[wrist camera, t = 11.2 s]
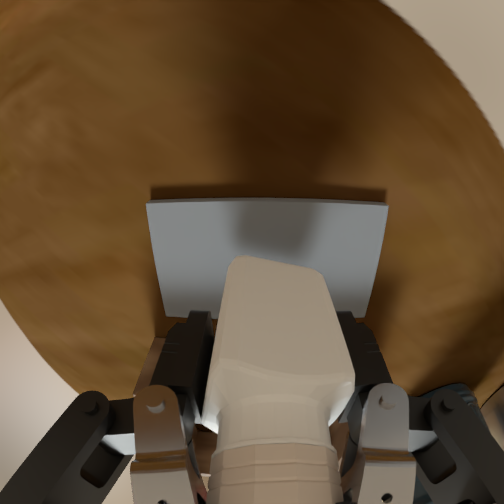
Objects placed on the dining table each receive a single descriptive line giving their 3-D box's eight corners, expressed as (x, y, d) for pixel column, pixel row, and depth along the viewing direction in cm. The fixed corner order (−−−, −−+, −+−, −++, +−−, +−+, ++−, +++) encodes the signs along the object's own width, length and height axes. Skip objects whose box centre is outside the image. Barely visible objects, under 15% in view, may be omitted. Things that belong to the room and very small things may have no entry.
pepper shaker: (232, 246, 12) (189, 503, 3) (325, 265, 12) (397, 494, 3) (217, 320, 13) (185, 521, 5) (297, 333, 14) (319, 525, 5)
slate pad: (384, 202, 13) (388, 205, 13) (361, 311, 16) (364, 317, 16) (150, 200, 14) (146, 203, 13) (168, 310, 17) (166, 316, 16)
